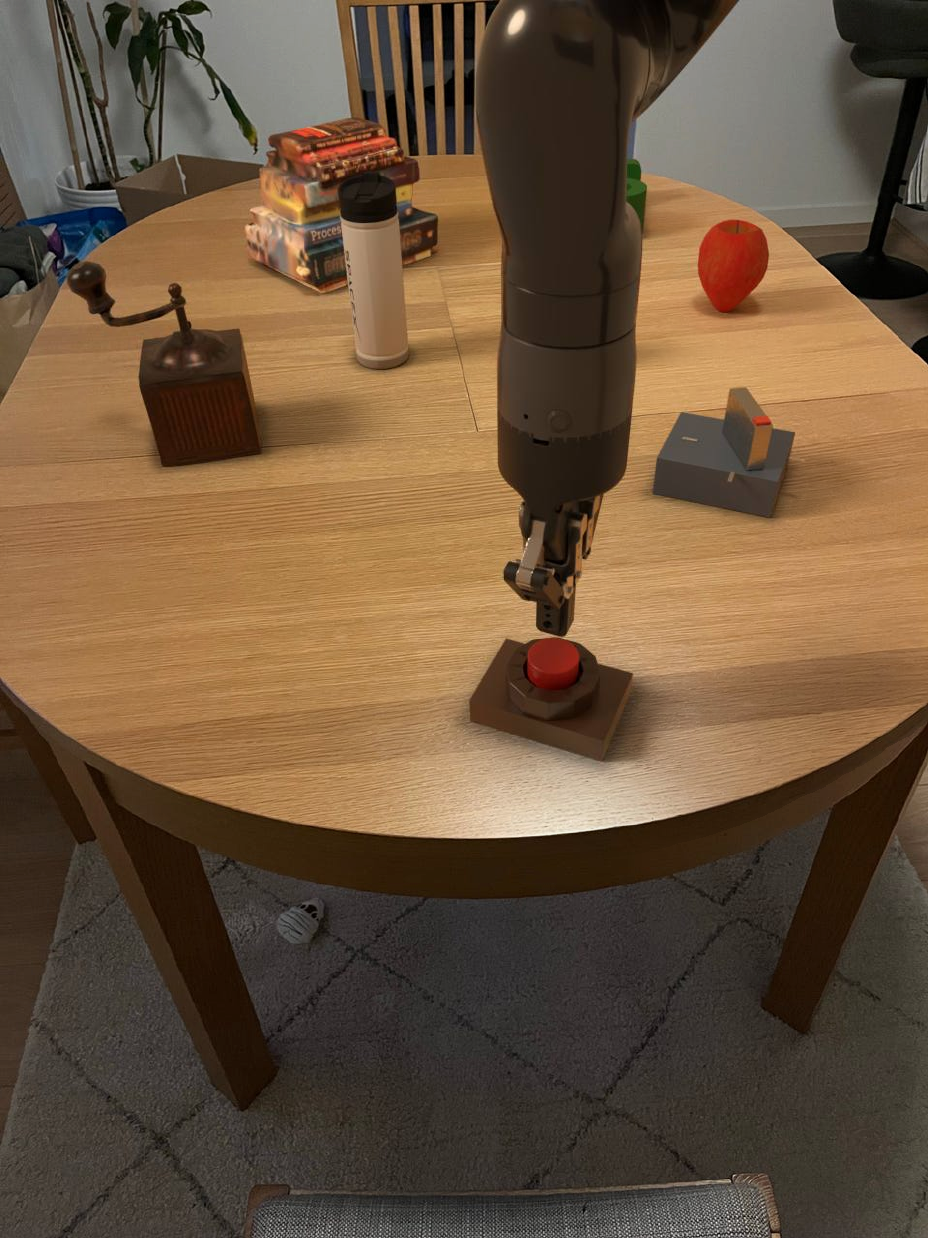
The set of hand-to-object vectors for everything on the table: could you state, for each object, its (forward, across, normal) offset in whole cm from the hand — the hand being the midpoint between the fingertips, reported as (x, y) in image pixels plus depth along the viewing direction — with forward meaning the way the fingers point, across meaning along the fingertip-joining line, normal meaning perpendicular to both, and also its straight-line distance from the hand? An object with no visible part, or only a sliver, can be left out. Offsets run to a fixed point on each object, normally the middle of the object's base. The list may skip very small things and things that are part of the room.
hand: (554, 627), depth 63 cm
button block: (+8, 0, 0) cm, 8 cm away
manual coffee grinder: (+8, -22, -49) cm, 54 cm away
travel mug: (+8, -46, -38) cm, 60 cm away
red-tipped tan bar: (+4, -33, +6) cm, 34 cm away
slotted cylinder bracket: (+8, -99, -26) cm, 103 cm away
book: (+8, -72, -58) cm, 93 cm away
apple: (+8, -73, -3) cm, 73 cm away
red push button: (+4, 0, 0) cm, 4 cm away
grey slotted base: (+8, -34, +5) cm, 35 cm away
